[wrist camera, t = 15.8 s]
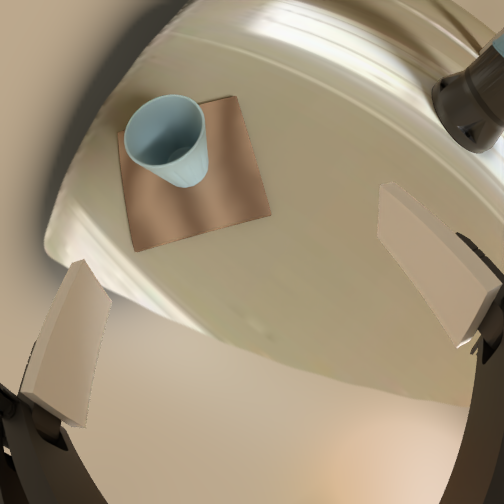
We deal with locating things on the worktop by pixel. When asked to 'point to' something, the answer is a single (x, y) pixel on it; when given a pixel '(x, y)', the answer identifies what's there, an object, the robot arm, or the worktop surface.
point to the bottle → (491, 41)
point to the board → (197, 186)
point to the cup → (169, 139)
